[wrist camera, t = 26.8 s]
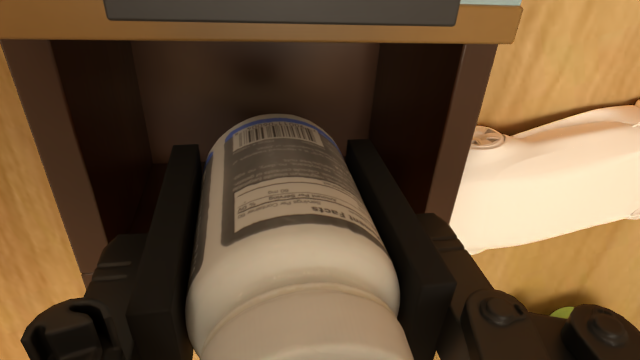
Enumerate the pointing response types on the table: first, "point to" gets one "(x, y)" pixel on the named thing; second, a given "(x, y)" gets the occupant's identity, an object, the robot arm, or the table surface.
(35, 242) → the table surface
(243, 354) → the pill bottle
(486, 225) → the toy car
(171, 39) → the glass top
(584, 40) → the table surface
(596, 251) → the table surface
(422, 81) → the case
